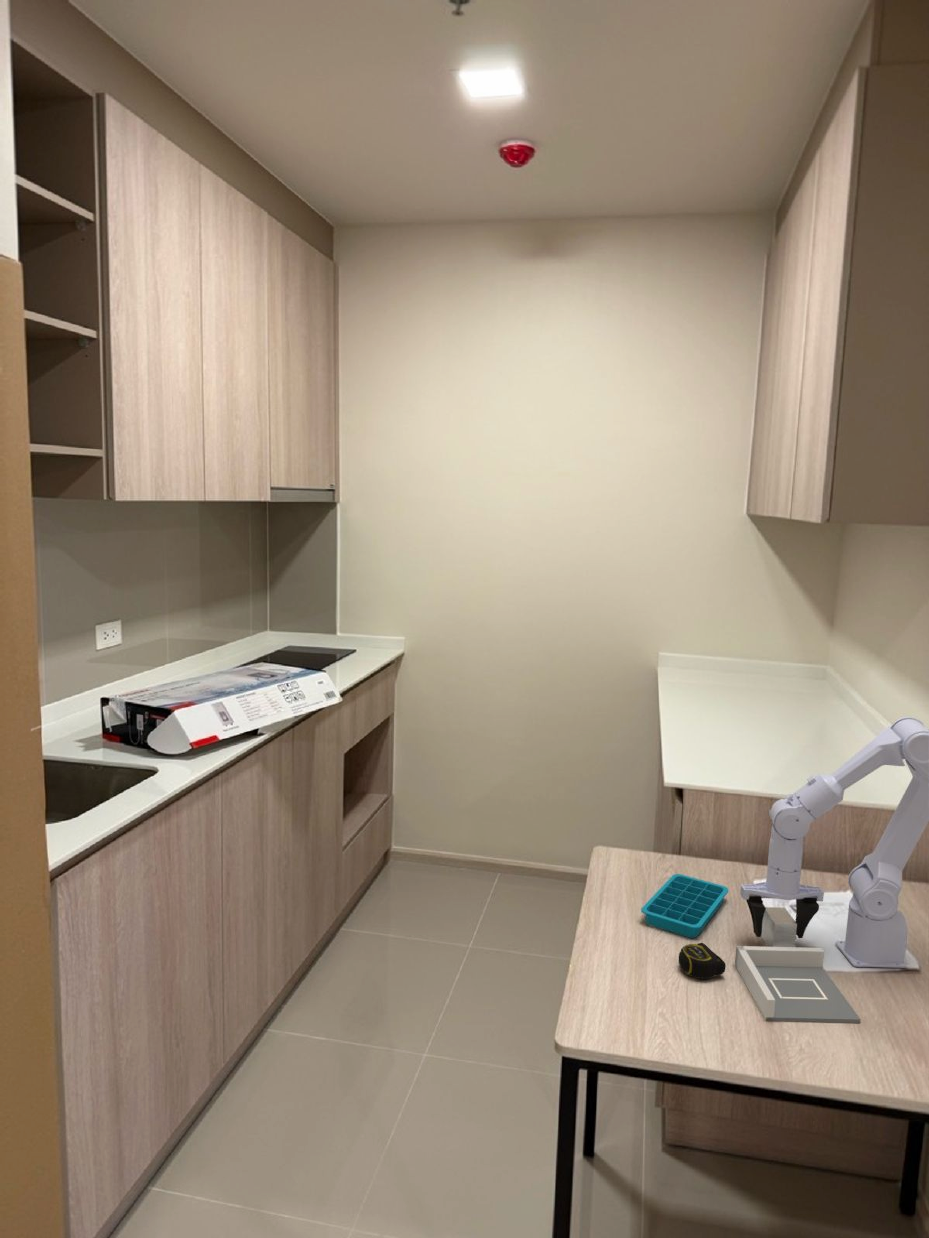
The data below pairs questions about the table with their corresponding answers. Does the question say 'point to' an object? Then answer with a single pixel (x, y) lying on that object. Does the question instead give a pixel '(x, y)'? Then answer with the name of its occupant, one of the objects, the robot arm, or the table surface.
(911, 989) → the table surface
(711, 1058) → the table surface
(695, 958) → the tape measure
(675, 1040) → the table surface
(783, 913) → the aluminium block
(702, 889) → the ice cube tray
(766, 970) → the tray
